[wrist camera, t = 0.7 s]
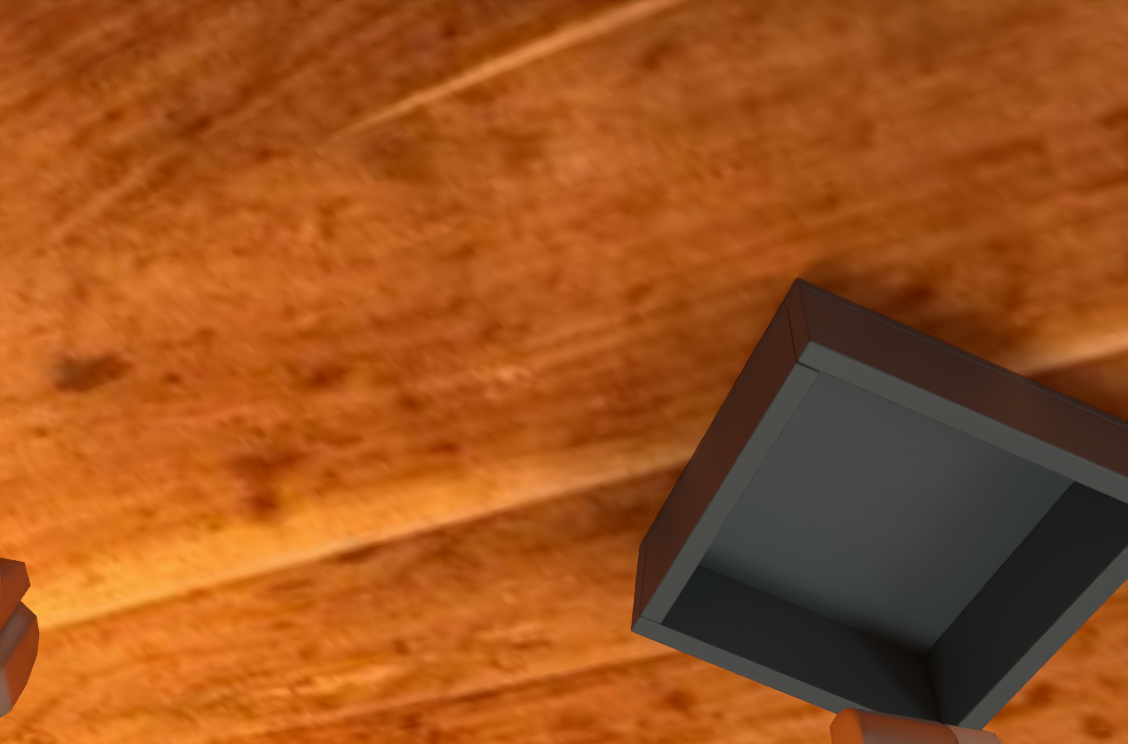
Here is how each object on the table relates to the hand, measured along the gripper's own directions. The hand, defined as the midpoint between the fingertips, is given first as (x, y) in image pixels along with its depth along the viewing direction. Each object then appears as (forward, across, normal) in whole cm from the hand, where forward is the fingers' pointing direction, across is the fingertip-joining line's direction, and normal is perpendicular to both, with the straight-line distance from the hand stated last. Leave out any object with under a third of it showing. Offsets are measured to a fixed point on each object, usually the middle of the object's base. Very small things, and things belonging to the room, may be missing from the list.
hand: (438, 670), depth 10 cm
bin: (+20, -14, +13) cm, 28 cm away
